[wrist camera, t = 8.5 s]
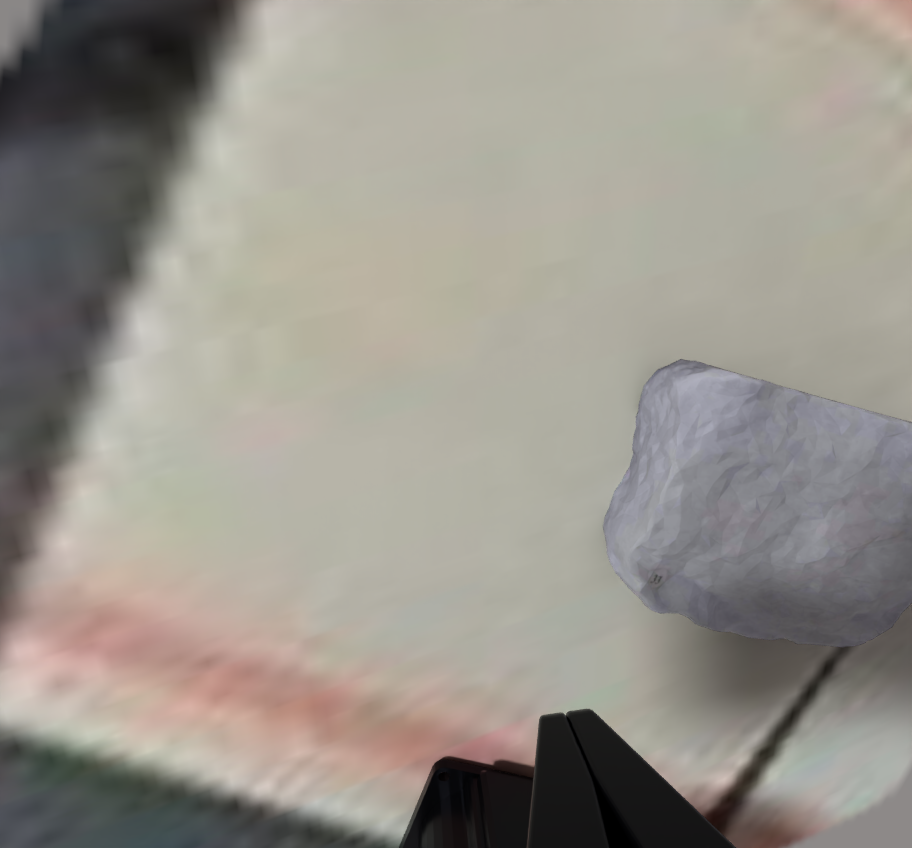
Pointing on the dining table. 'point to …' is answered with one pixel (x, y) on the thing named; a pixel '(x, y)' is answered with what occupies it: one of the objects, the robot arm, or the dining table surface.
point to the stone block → (764, 509)
